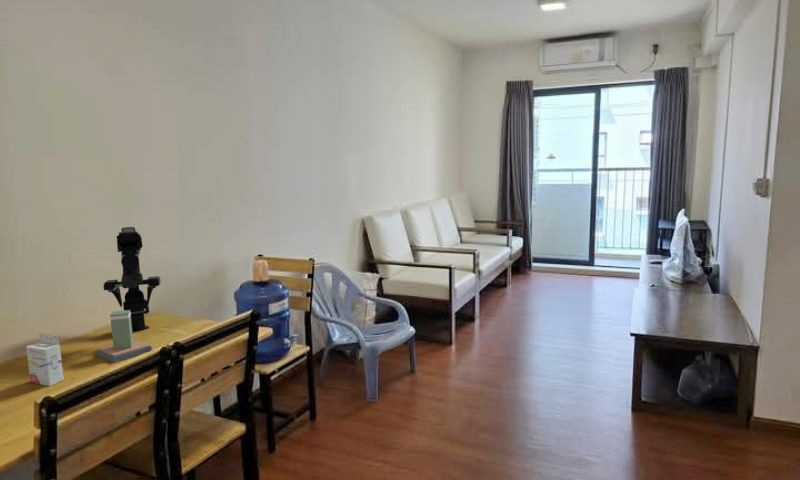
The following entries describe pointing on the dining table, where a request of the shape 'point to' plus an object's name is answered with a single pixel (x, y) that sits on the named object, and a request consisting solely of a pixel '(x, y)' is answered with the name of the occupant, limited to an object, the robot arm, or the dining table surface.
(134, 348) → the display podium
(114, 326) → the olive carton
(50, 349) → the ink cartridge box
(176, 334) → the dining table surface
